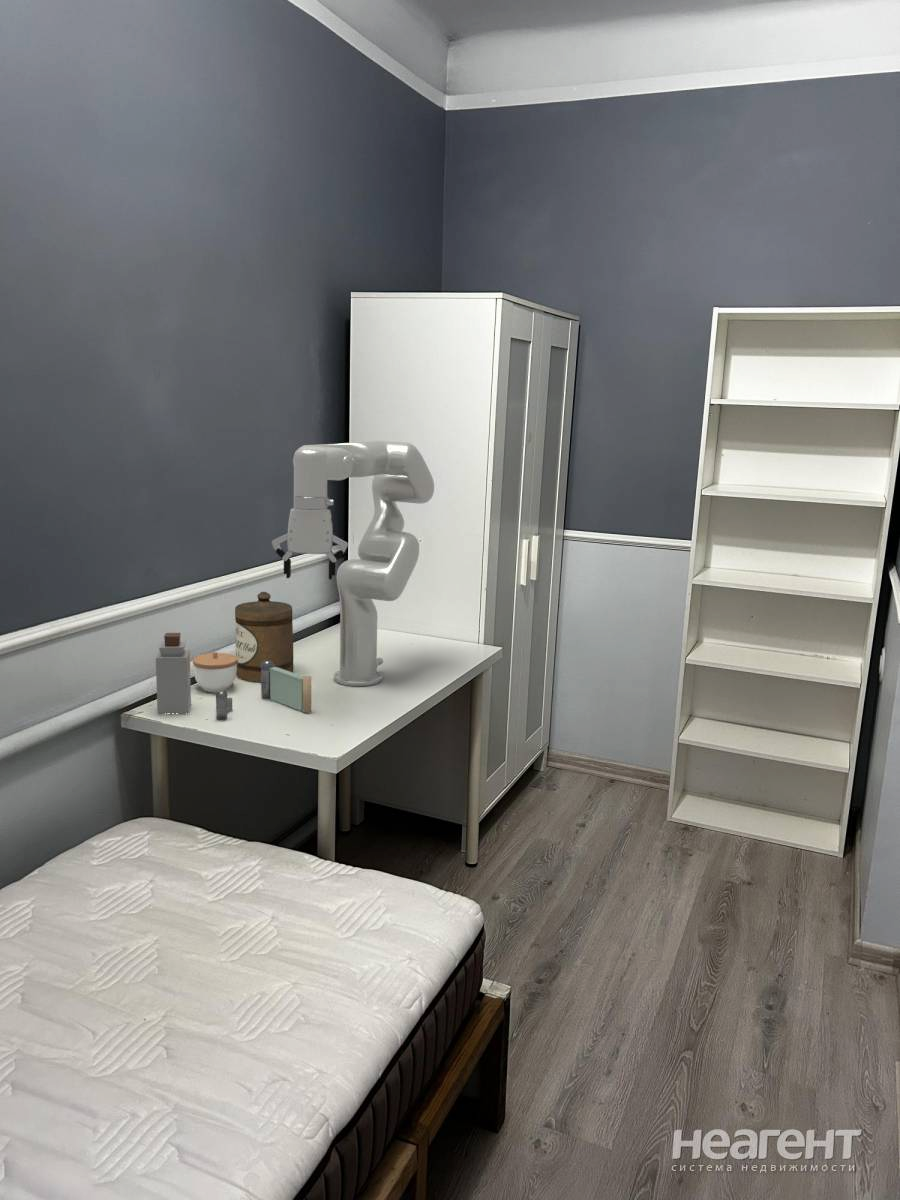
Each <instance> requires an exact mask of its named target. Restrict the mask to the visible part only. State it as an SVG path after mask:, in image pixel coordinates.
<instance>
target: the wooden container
mask: <svg viewBox="0 0 900 1200" xmlns="http://www.w3.org/2000/svg"><path fill="white" fill-rule="evenodd" d="M256 597H257V599H258V600H257V601H248V602H242V603H240V604H237V605H236V606H235V608H234V618H235V620H234V621H235V656H236V657H237V659H238V662H237V674H236V677H238V678H239V679H240V678H241V680H244V681H246V680H247V681H246V682H252V683H261V663H262V662H263V661H265V660H270V661H272V662H273V664H274V667H278V668H281V669H284V670H286V671H289V672H292V673H294V628H293V606H292V605H291V603H290V604H289V603H287V602H283V601H282V602H281V601H272V600H270V599H271V594H270V593H269V592H267V591H261V592H259V593H258V594H257V595H256Z"/></svg>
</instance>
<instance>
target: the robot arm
mask: <svg viewBox="0 0 900 1200" xmlns="http://www.w3.org/2000/svg"><path fill="white" fill-rule="evenodd" d="M292 465H293V507H292V508H290V511H289V517H288V526H287V533H285V534H284V535H281V536H279V537H277V538H275V539H273V540H272V541H271V545H272V547H273V549H274V551H275V553H276V555H278V556H279V558H281V560H282V561H283V575H286V576H285V577H286V579H290V578H291V577H292V568H291V567H292V560H291V556H292V555H293V554H301V555H302V554H303V555H305V554H307V555H309V554H310V555H326V557H327V558H328V559H329V561H328V580H331V581H332V579H333V576H336V584H337V590H338V595H339V597H338V598H339V606H340V608H339V609H340V619H339V621H340V622H339V670H337V671H336V672H334V673H333V680H334V681H335V682H336V683H338V684H341V685H345V686H349V687H365V686H366V687H367V686H374V685H377V684H378V683H380V682H381V681H382V680H383V674H382V672H381V671H378V666H381V665H383V663H384V660H383V658H382V657H377V655H378V652H377V651H378V611H377V608H376V605H375V603H374V601H373V600H377V601H382V602H383V601H384V602H393V601H396V600H397V599H399V598H400V597H401V595H402V593H403V592H404V590H405V588H406V587H407V583H408V582H409V580H410V578H411V576H412V573H413V572H414V569H415V568H416V565H417V563H418V560H419V556H420V543H419V540H418V539H417V536H415V535H414V534H412V533H410V532H406V531H403V530H404V527H405V520H404V517H403V514H402V513H401V511H400V509H399V508H398V505H397V503H398V502H399V503H407V504H409V503H410V504H421V505H422V504H426V503H429V501H430V500H431V499H432V498H433V495H434V493H435V483H434V479H433V476H432V474H431V472H430V469H429V467H428V465H427V463H426V461H425V459H424V457H423V455H422V454H421V452H420V451H419V449H418V448H417V447H416V446H415V445H414V444H412V443H410V442H402V441H401V442H399V441H398V442H397V441H386V440H384V441H383V440H376V441H363V442H344V443H343V442H342V443H327V444H326V443H325V444H324V443H322V444H318V443H317V444H306V445H305V444H304V445H302V446H300V447H299V448H297V450H295V452H294V455H293V458H292ZM370 476H373V479H372V483H371V492H372V499H373V507H374V510H373V511H374V513H373V517H372V518H371V521H370V523H369V524H368V527H367V528H366V530H365V532H364V534H363V536H362V538H361V540H360V542H359V544H358V547H357V555H358V558H359V559H357V558H356V559H355V558H354V559H348V560H345V561H344V562H342V563H341V564H340V565H339V566H338V568H337V571H336V565H337V564H336V562H337V561H338V560H339V559H340V558H341V557H342V556H344V553H345V552H346V550H347V548H348V545H349V543H348V542H347V541H345V540H343V539H341V538H340V537H338V536H336V535H335V534H334V533H333V521H332V519H333V518H332V512H331V509H328V508H329V507H330V506H334V499H331V498H329V497H328V481H343V480H345V479H347V478H365V477H366V478H367V477H370ZM286 541H287V542H286ZM283 542H286V544H287V548H286V549H287V551H286V552H285V551H284V550H283V548H282V547H281V545H280V544H282V543H283ZM333 544H337V545H338V546H340V547H339V550H338V551H337V552H336V553H334V552H333V551H332V549H333Z"/></svg>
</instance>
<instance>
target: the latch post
mask: <svg viewBox="0 0 900 1200" xmlns="http://www.w3.org/2000/svg"><path fill="white" fill-rule="evenodd" d="M215 702H216V703H215V704H216V705H215V708H216V709H215V710H216V711H215V714H216V717H215V718H216V720H217V721H226V720H228V713H230V712H232V711H233V698H232V697H228V693H227V692H226V691H218V692H215Z"/></svg>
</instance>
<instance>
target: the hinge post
mask: <svg viewBox="0 0 900 1200" xmlns="http://www.w3.org/2000/svg"><path fill="white" fill-rule="evenodd" d="M273 667H274V664H273V662H272V661H270V660H265V661H263V662H262V663H261V682H260V683H261V684H260V687H261V688H260V691H261V692H260V694H261V695H260V696H261V699H262V700H265V701H266V700H267V701H269V700H271V699H270V668H273Z"/></svg>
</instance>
